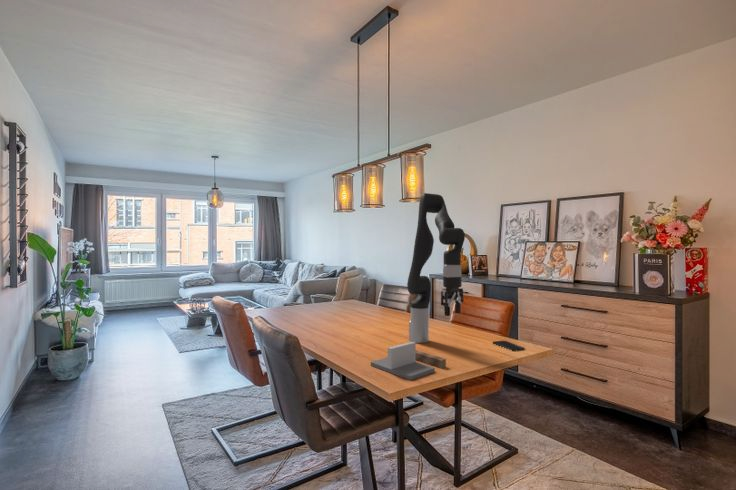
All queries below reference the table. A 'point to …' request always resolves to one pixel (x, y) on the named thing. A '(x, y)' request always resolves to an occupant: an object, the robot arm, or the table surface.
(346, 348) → the table surface
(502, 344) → the phone
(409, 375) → the stand
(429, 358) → the walnut bar
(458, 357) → the table surface
